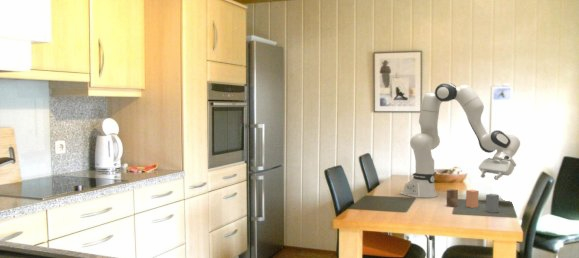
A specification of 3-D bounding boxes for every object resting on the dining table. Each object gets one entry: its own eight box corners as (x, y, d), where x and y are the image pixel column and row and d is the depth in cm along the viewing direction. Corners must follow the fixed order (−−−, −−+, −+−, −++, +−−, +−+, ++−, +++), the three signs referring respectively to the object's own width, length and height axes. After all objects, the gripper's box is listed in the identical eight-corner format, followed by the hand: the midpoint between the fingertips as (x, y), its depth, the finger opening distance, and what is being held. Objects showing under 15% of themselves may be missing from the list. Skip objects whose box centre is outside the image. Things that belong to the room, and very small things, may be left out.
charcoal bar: (485, 211, 269) (486, 194, 268) (490, 210, 272) (490, 193, 271) (493, 212, 265) (494, 195, 265) (498, 211, 268) (498, 194, 268)
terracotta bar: (466, 206, 282) (466, 190, 281) (471, 205, 284) (472, 189, 283) (472, 207, 278) (472, 191, 277) (478, 207, 280) (478, 190, 279)
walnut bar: (446, 206, 283) (446, 190, 282) (449, 204, 286) (449, 189, 286) (454, 207, 280) (454, 191, 279) (457, 205, 283) (457, 189, 283)
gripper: (483, 154, 298) (471, 172, 294) (513, 157, 279) (500, 176, 275) (489, 161, 300) (477, 179, 296) (518, 165, 282) (506, 184, 278)
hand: (488, 178), depth 286 cm, fingers open, 8 cm apart
